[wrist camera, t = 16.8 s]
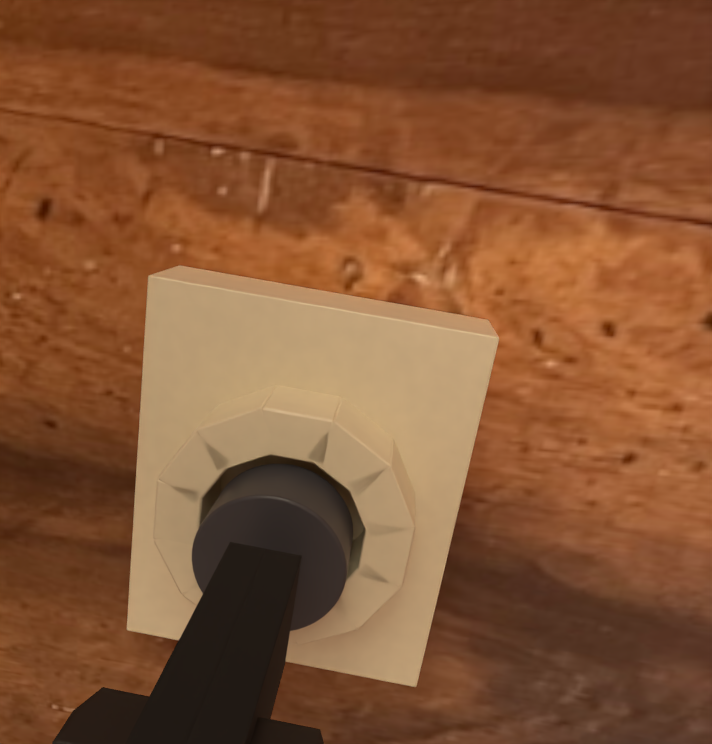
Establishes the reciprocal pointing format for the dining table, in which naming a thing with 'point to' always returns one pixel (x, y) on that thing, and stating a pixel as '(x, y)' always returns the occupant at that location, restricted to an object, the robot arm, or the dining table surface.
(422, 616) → the timer
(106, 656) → the dining table surface
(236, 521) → the timer button
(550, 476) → the dining table surface
